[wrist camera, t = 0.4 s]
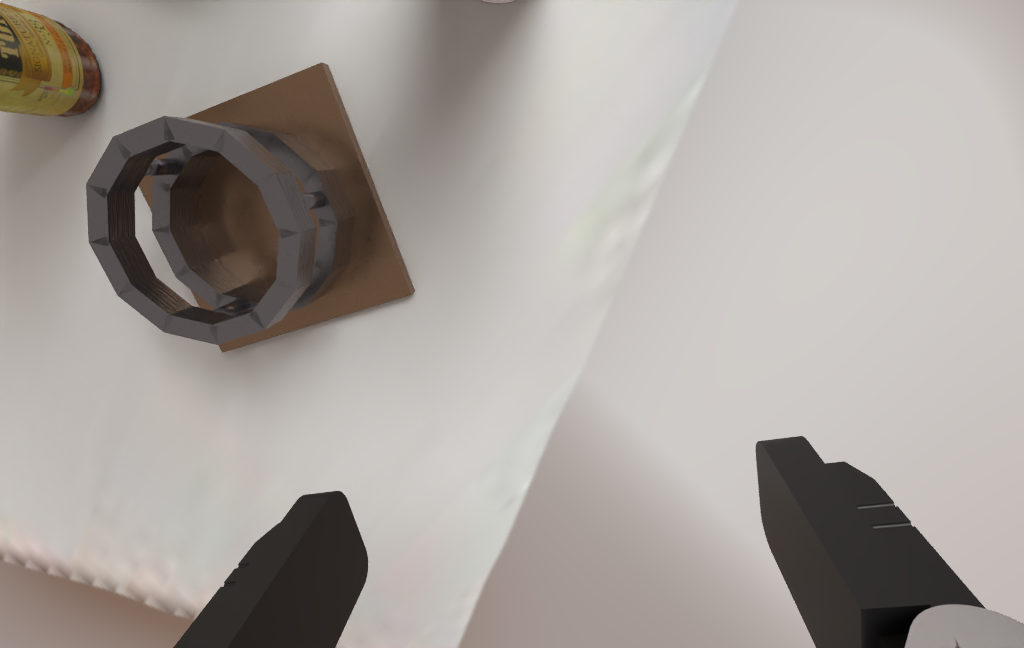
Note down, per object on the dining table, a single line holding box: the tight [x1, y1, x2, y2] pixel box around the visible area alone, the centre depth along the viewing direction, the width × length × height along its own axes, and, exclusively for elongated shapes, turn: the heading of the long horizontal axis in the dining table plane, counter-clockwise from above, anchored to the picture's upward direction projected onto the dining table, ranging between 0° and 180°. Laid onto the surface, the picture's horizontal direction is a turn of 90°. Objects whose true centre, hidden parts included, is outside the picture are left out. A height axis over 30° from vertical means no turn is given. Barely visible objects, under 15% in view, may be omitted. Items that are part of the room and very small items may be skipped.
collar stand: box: [86, 63, 415, 352], centre depth 34 cm, size 16×16×9 cm
